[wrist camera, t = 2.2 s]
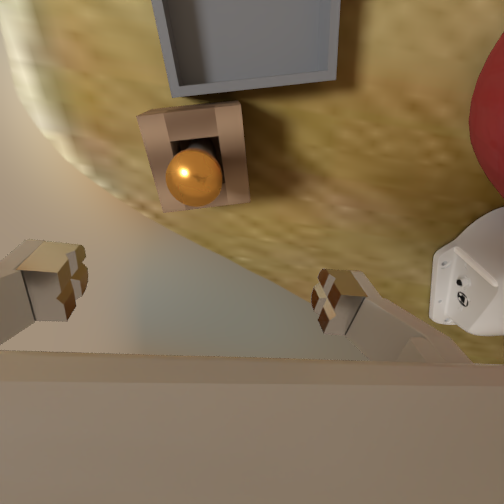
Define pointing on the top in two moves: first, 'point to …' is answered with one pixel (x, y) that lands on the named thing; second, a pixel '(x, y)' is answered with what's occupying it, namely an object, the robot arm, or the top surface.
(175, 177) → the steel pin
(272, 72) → the tray
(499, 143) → the mixing bowl
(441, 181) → the top surface
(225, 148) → the hitch block
